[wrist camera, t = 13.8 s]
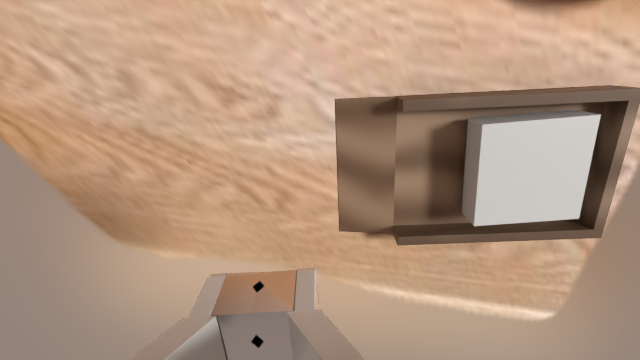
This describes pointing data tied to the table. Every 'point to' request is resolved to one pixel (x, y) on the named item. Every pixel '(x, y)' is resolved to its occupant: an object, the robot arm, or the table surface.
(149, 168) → the table surface
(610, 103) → the dock
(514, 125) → the grey square tile
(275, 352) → the robot arm
